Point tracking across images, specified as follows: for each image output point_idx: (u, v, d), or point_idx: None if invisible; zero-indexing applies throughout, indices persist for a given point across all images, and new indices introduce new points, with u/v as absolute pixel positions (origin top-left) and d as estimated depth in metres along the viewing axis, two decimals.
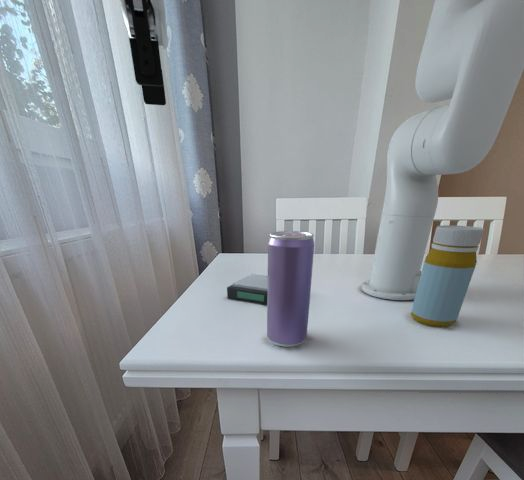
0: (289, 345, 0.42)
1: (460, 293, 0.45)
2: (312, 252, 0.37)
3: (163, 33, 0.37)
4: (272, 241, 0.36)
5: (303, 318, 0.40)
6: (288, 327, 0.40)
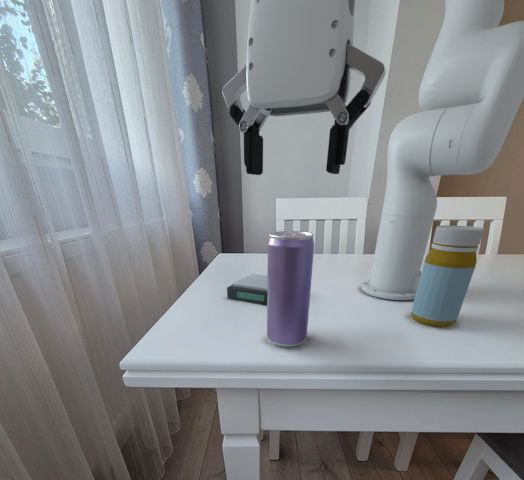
0: (289, 345, 0.42)
1: (460, 293, 0.45)
2: (312, 252, 0.37)
3: (313, 112, 0.33)
4: (272, 241, 0.36)
5: (303, 318, 0.40)
6: (288, 327, 0.40)
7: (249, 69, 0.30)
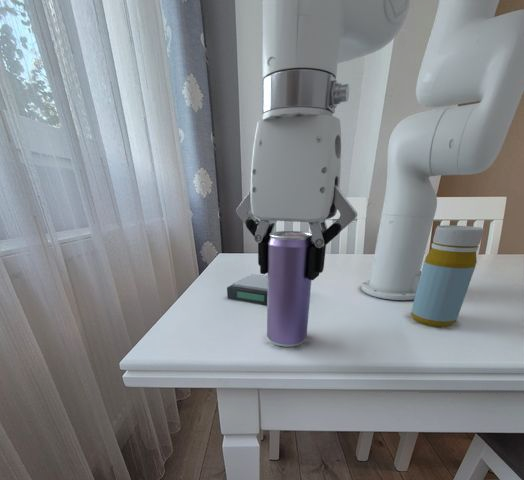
0: (289, 345, 0.42)
1: (460, 293, 0.45)
2: None
3: None
4: (272, 241, 0.36)
5: (303, 318, 0.40)
6: (288, 327, 0.40)
7: (253, 191, 0.35)
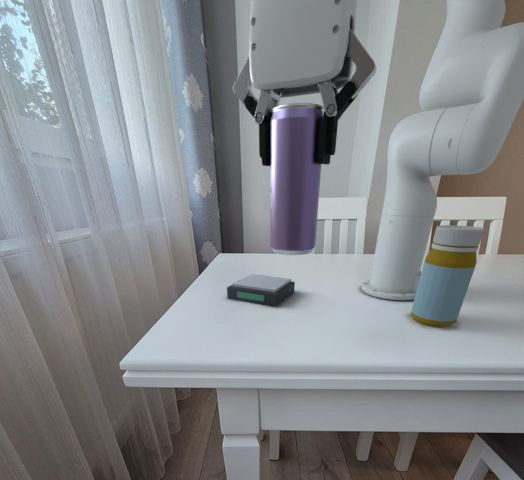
0: (296, 252, 0.37)
1: (460, 293, 0.45)
2: None
3: (316, 92, 0.33)
4: (276, 115, 0.31)
5: (311, 217, 0.35)
6: (294, 228, 0.35)
7: (252, 50, 0.30)
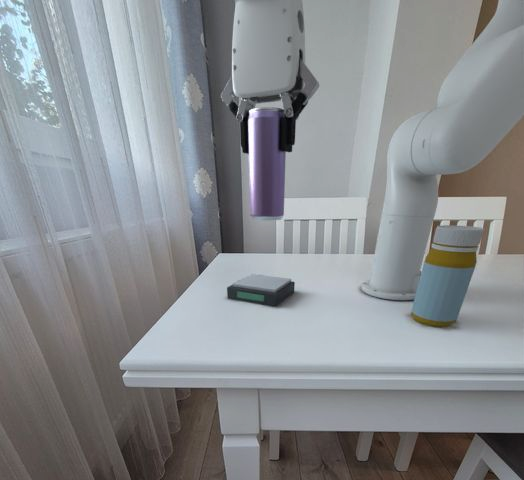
0: (268, 217, 0.49)
1: (460, 293, 0.45)
2: None
3: (281, 100, 0.45)
4: (251, 115, 0.44)
5: (279, 191, 0.48)
6: (266, 198, 0.48)
7: (234, 70, 0.42)
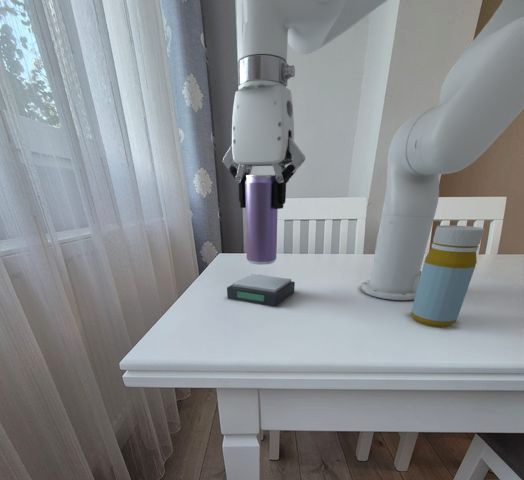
0: (262, 262, 0.57)
1: (460, 293, 0.45)
2: None
3: None
4: (247, 180, 0.51)
5: (271, 240, 0.55)
6: (260, 247, 0.55)
7: (233, 143, 0.50)
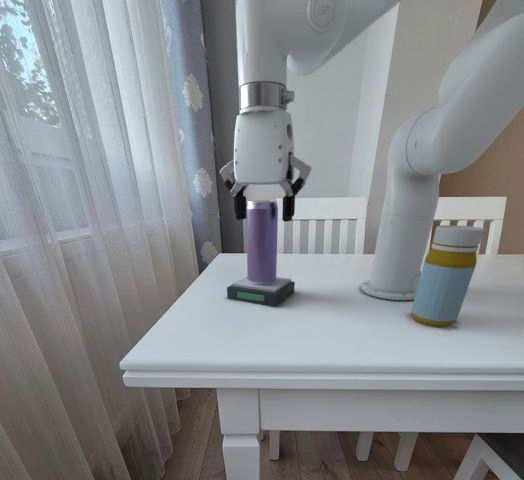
0: (262, 283, 0.59)
1: (460, 293, 0.45)
2: (276, 213, 0.54)
3: None
4: (248, 206, 0.53)
5: (271, 262, 0.57)
6: (261, 269, 0.57)
7: (235, 164, 0.51)
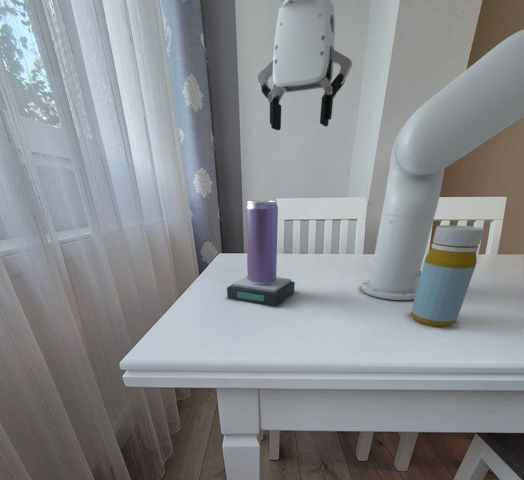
0: (262, 283, 0.59)
1: (460, 293, 0.45)
2: (276, 213, 0.54)
3: None
4: (248, 206, 0.53)
5: (271, 262, 0.57)
6: (261, 269, 0.57)
7: (275, 63, 0.51)
